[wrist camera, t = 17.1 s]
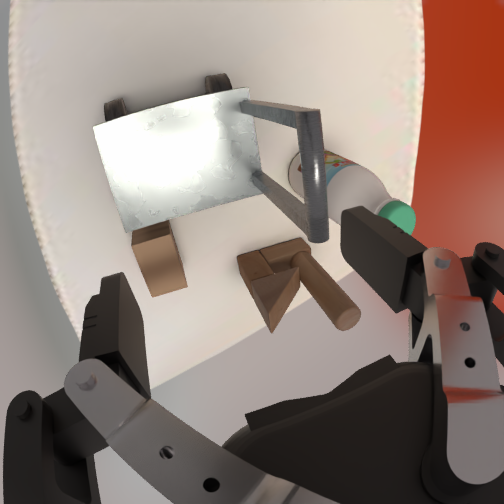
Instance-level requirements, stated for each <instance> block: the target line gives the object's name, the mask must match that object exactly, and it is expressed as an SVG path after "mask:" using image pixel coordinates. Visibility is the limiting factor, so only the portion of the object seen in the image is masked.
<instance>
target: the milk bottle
mask: <svg viewBox="0 0 504 504" xmlns="http://www.w3.org/2000/svg"><path fill="white" fill-rule="evenodd" d="M324 156H325V169H326V183H327V199H328V217H329V218H330V219H332V220H333V221H334V222H336V223H337V224H339V225H341V213H342V211H343V210H345V209H349V208H353V207H356V206H364V207H365V208H366V209H368V210H369V211H371V212H372V213H374V214H375V215H378V216H381V217H384V218H386V219H389V220H390V221H391V222H393V223H394V224H396V225H397V227H400V228H401V229H402V230H404V232H407V233H408V234H409V235H411V234H412V232H413V230H414V226H415V221H416V217H415V212H414V210H413V209H412V208H411V207H410V206H409V205H407V204H406V203H404V202H402V201H400V200H399V199H396V198H392V197H391V196H390V195H389V193H388V192H387V190H386V188H385V186H384V185H383V183H382V182H381V180H380V179H379V178H378V177H377V176H376V175H375V174H374V173H373V172H371V171H370V170H368V169H367V168H365V167H363V166H361V165H359V164H357V163H355V162H352V161H350V160H348V159H346V158H344V157H341V156H339V155H337V154H334V153H332V152H329V151H327V150H324ZM289 180H290V184H291V186H292V188H293V189H294V191H295V192H296V193H297V194H299V195H300V196H301V197H302V198H304V191H303V180H302V171H301V161H300V153H299V154H298V155H297V156H296V157H295V158H294V159H293V161H292V163H291V166H290V169H289Z"/></svg>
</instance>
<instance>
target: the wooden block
mask: <svg viewBox="0 0 504 504" xmlns="http://www.w3.org/2000/svg"><path fill="white" fill-rule="evenodd" d="M237 260H238V265H239V270H240V274H241V276H242V278H243V280H244V282H245V284H246V286H247V288H248V290H249V292H250V294H251V296H252V298H253V299H254V301H255V303H256V305H257V307H258V309H259V311H260V313H261V315H262V317H263V319H264V321H265V323H266V325H267V327H268V328H269V330H270V332H271V333H273V331H274V330H275V328H276V326H277V325H278V323H279V322H280V320H281V318H282V317H283V315H284V313H285V312H286V310H287V308H288V307H289V305H290V303H291V302H292V300H293V298H294V296H295V295H296V293H297V291H298V290H299V288H300V281H301V282H302V283H303V285H304V286H305V287H306V288H307V290H308V291H309V292H310V294H311V295H312V296H313V298H314V299H315V300H316V301H317V303H318V304H319V306H320V307H321V308H322V309H323V311H324V312H325V313H326V315H327V316H328V317H329V319H330V320H331V321H332V323H333V324H334V325H335V327H336V328H337V329H339V330H341V331H345V330H348V329H350V328H352V327H353V326H355V325H356V324H357V322H358V321H359V319H360V317H361V311H360V309H359V308H358V307H357V305H356V304H355V303H354V302H353V301H352V300H351V299H350V297H349V296H348V295H347V294H346V293H345V292H344V291H343V290H342V289H341V288H340V287H339V285H338V284H337V283H336V282H335V281H334V280H333V279H332V277H331V276H330V275H329V274H328V273H327V272H326V271H325V270H324V269H323V268H322V267H321V265H320V264H319V263H318V262H317V261H316V260H315V259H314V258H313V257H312V256H311V248H310V246H309V245H308V244H307V243H306V242H305V241H304V240H303V239H302V238H298V239H295V240H291V241H288V242H284V243H281V244H277V245H274V246H271V247H267V248H264V249H261V250H260V252H259V251H258V250H256V251H253V252H250V253H246V254H243V255H239V256H238V257H237ZM274 273H275V274H274Z"/></svg>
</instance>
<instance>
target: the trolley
mask: <svg viewBox="0 0 504 504" xmlns="http://www.w3.org/2000/svg"><path fill="white" fill-rule="evenodd" d="M205 87H206V94H205V95H200V96H196V97H191V98H187V99H183V100H179V101H175V102H171V103H167V104H163V105H159V106H156V107H152V108H148V109H145V110H141V111H138V112H135V113H131V114H127V110H126V107H125V104H124V101H123V99H122V98H120V99H117V100H114V101H111V102H108V103H105V104H104V114H105V120H106V122H104V123H101V124H98V125H95V126H94V127H93V130H94V134H95V137H96V141H97V145H98V148H99V152H100V155H101V159H102V162H103V165H104V169H105V172H106V175H107V178H108V182H109V185H110V188H111V191H112V194H113V197H114V200H115V203H116V206H117V209H118V212H119V215H120V218H121V220H122V223H123V226H124V229H125V232H126V233H127V232H130V231H133V230H137V229H140V228H143V227H146V226H149V225H153V224H156V223H159V222H163V221H166V220H169V219H173V218H176V217H179V216H183V215H186V214H190V213H193V212H197V211H200V210H204V209H207V208H211V207H214V206H218V205H222V204H225V203H229V202H233V201H236V200H240V199H244V198H248V197H251V196H255V195H259V194H264V195H265V196H266V197H267V198H269V199H270V200H271V201H272V202H273V203H274V204H275V205H276V206H277V207H278V208H279V209H280V210H281V211H282V212H283V213H284V214H285V215H286V216H287V217H288V218H289V219H291V220H292V221H293V222H294V223H295V224H296V225H297V226H298V227H299V228H300V229H301V230H302V231H303V232H304V233H305V234H306V235H307V237H308V240H309V241H310V242H313V243H323V242H326V241H327V240H328V239H329V219H328V199H327V183H326V169H325V156H324V144H323V133H322V123H321V114H320V109H310V108H305V107H299V106H292V105H286V104H279V103H271V102H263V101H255V100H250V94H249V88H248V87H242V88H236V89H232V86H231V83H230V80H229V78H228V76H227V75H226V74H225V73H222V74H217V75H212V76H207V77H206V80H205ZM253 116H254V117H258V118H262V119H265V120H269V121H272V122H276V123H279V124H283V125H286V126H289V127H293V128H296V129H297V135H298V143H299V152H300V161H301V171H302V180H303V191H304V201H305V204H303V203H302V202H301V201H300V200H298V199H297V198H296V197H295V196H293V195H292V194H291V193H289V192H288V191H287V190H286V189H284V188H283V187H282V186H280V185H279V184H278V183H277V182H275V181H274V180H273V179H271V178H270V177H269V176H267V175H266V174H265V173H263V172H262V169H261V163H260V156H259V150H258V144H257V137H256V131H255V125H254V119H253Z"/></svg>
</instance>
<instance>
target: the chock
mask: <svg viewBox="0 0 504 504" xmlns="http://www.w3.org/2000/svg"><path fill="white" fill-rule="evenodd" d="M131 246H132V249H133V252H134V254H135V257H136V259H137V262H138V264H139V267H140V269H141V272H142V274H143V277H144V279H145V282H146V284H147V286H148V289H149V291H150V294H151V296H152V297H156V296H159V295H162V294H166V293H169V292H172V291H176V290H179V289H182V288H186V287H188V286H187V282H186V278H185V273H184V269H183V264H182V261H181V258H180V255H179V252H178V249H177V246H176V243H175V239H174V236H173V233H172V230H171V226H170V223H169V220H166V221H163V222H159V223H156V224H153V225H149V226H146V227H143V228H140V229H137V230H133V232H132V244H131Z"/></svg>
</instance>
